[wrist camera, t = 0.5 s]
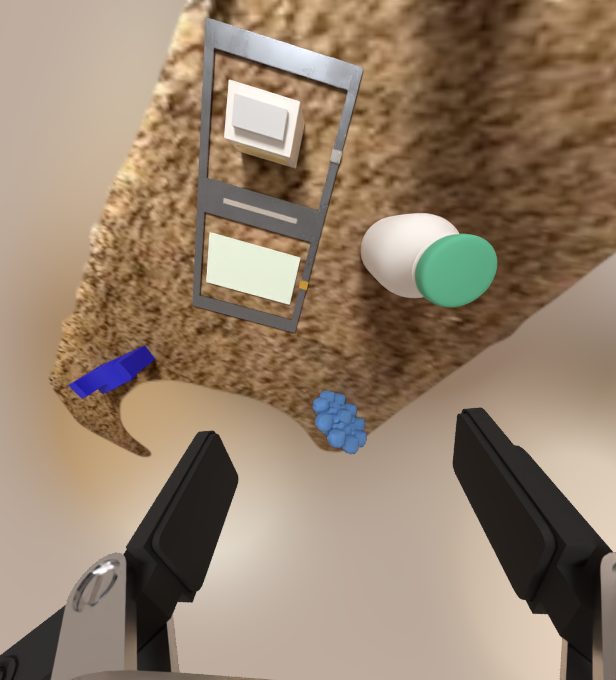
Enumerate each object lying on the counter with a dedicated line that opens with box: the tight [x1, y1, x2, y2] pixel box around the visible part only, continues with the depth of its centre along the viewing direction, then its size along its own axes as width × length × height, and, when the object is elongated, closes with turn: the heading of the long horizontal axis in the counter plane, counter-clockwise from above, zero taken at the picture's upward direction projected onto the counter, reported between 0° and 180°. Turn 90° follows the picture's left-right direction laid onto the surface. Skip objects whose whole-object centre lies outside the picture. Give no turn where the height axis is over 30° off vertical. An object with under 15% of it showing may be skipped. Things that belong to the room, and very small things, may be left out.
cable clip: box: [69, 346, 155, 398], centre depth 43 cm, size 12×4×6 cm, turn 115°
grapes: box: [313, 390, 367, 454], centre depth 39 cm, size 12×7×12 cm, turn 48°
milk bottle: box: [361, 213, 497, 307], centre depth 24 cm, size 8×8×20 cm
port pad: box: [206, 232, 300, 305], centre depth 36 cm, size 7×13×1 cm, turn 75°
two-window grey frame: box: [193, 18, 363, 333], centre depth 32 cm, size 32×17×1 cm, turn 165°
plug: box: [224, 80, 305, 168], centre depth 26 cm, size 5×7×6 cm, turn 76°
